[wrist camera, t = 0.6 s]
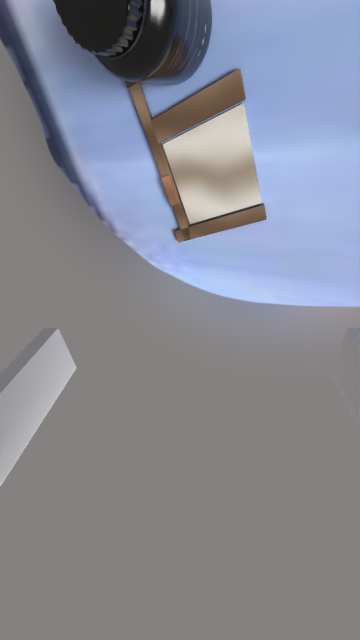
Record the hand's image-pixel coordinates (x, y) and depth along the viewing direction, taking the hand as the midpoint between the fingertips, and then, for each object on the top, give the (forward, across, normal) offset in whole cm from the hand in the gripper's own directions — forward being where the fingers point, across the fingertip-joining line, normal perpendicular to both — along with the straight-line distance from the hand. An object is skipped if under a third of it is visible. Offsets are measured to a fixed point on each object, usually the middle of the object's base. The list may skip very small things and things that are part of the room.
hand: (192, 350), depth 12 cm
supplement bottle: (+22, -2, +16) cm, 27 cm away
